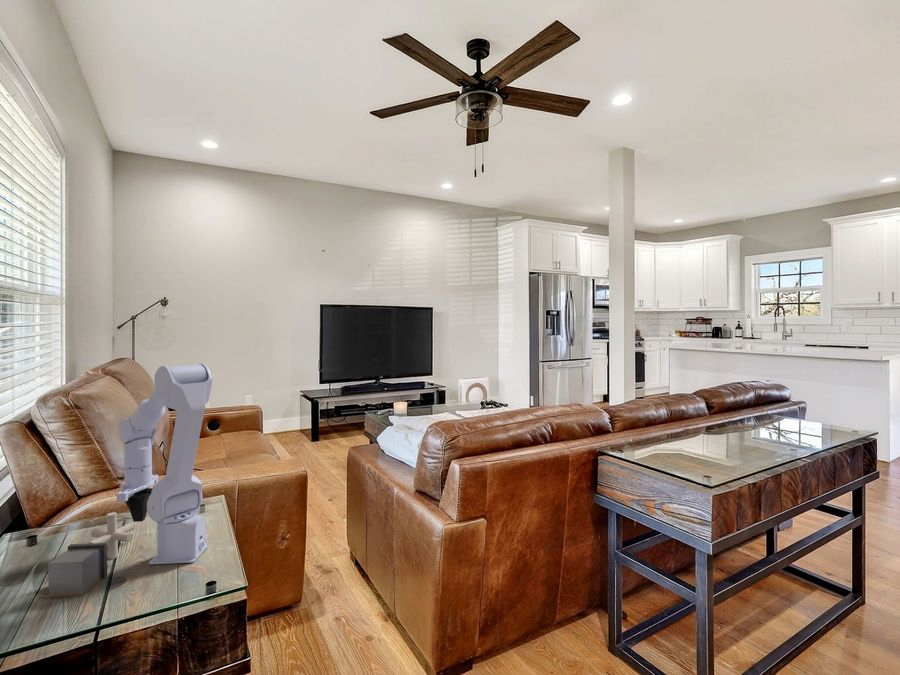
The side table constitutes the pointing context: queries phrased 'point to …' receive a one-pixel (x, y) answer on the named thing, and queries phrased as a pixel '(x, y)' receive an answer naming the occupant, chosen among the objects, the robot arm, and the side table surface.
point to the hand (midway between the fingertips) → (139, 520)
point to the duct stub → (77, 569)
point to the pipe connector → (113, 534)
